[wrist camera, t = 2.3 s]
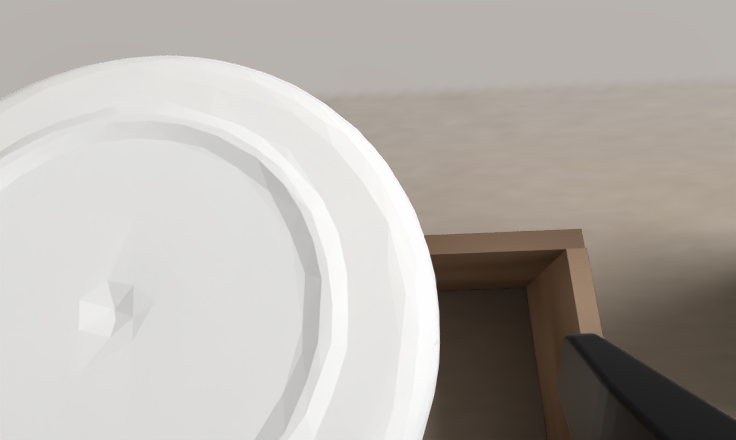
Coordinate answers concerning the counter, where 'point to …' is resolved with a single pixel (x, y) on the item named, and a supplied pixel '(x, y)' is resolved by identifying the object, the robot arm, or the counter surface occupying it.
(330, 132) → the sprinkles bottle
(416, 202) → the counter surface
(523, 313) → the counter surface
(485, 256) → the wooden tray
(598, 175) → the counter surface
